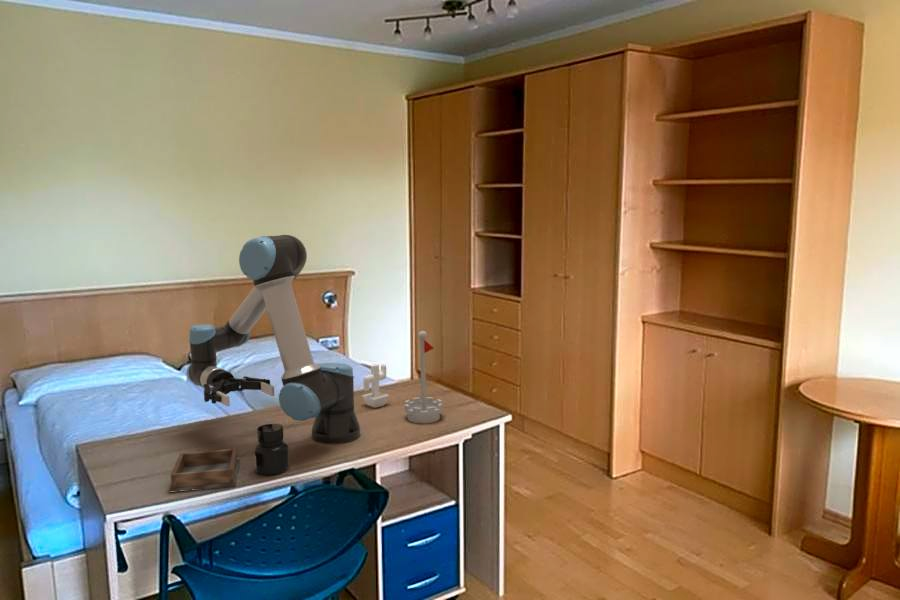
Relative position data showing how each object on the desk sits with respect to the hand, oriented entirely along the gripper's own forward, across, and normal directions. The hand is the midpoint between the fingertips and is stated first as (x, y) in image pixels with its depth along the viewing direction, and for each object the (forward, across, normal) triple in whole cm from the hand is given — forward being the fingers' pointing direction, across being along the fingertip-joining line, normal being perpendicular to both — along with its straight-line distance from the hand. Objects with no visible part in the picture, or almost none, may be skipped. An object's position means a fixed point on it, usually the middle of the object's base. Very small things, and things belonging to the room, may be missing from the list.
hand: (251, 396), depth 188 cm
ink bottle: (+10, 0, -19) cm, 21 cm away
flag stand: (+7, -59, -19) cm, 62 cm away
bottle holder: (+2, +15, -19) cm, 24 cm away
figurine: (-16, -56, -19) cm, 61 cm away
